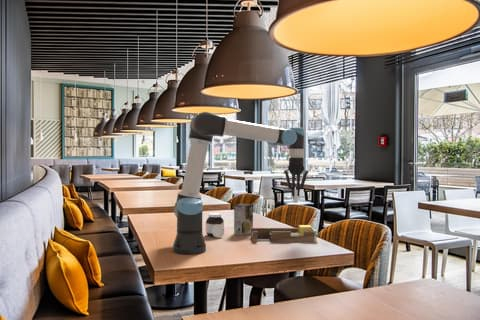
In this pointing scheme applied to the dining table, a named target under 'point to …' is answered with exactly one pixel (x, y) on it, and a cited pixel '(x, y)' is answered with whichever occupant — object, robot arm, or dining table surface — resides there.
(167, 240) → the dining table surface
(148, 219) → the dining table surface
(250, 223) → the coffee box
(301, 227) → the block
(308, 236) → the box
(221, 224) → the spread jar
